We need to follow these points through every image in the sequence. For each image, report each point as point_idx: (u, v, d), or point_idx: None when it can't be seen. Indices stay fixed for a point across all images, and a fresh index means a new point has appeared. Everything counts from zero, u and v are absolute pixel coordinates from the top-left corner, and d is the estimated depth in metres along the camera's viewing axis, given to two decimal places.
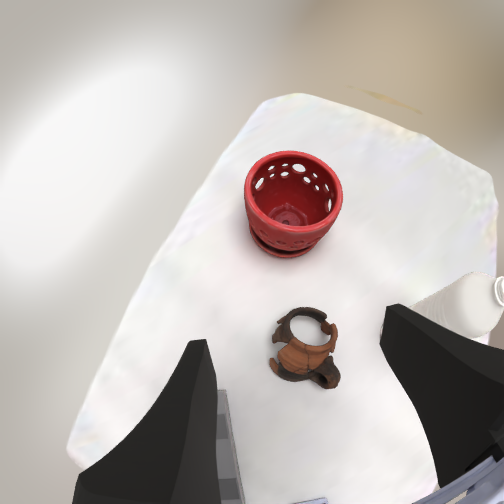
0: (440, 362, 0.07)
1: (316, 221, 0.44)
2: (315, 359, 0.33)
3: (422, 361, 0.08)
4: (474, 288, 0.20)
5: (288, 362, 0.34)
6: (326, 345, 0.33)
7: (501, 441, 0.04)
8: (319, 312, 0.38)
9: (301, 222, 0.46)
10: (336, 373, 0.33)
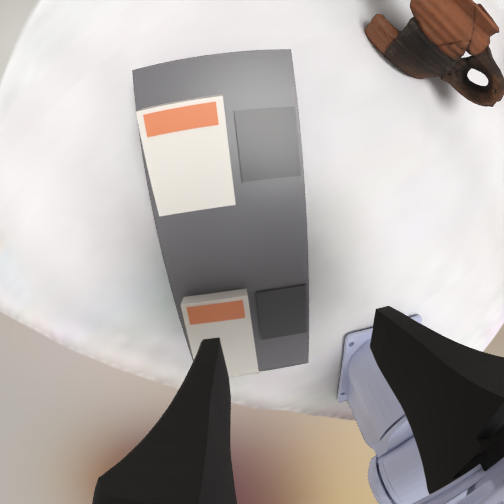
0: (428, 367, 0.07)
1: None
2: (480, 37, 0.09)
3: (411, 366, 0.08)
4: None
5: (437, 20, 0.09)
6: (495, 24, 0.08)
7: (490, 450, 0.04)
8: None
9: None
10: (503, 80, 0.10)
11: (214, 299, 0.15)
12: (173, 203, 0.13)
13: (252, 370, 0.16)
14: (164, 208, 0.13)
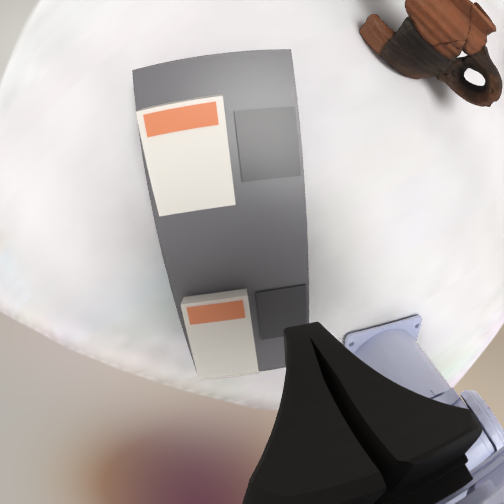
0: (339, 396, 0.07)
1: None
2: (476, 36, 0.09)
3: (329, 391, 0.08)
4: None
5: (433, 19, 0.09)
6: (492, 23, 0.08)
7: None
8: None
9: None
10: (500, 80, 0.10)
11: (214, 299, 0.15)
12: (173, 203, 0.13)
13: (252, 370, 0.16)
14: (164, 208, 0.13)
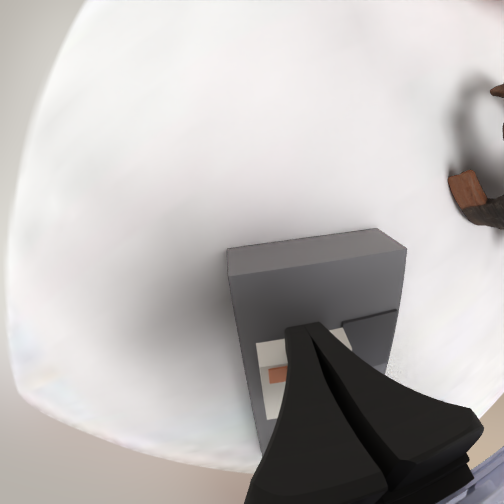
0: (341, 396, 0.07)
1: None
2: None
3: (330, 390, 0.08)
4: None
5: None
6: None
7: (397, 503, 0.04)
8: None
9: None
10: None
11: None
12: None
13: None
14: (273, 416, 0.13)
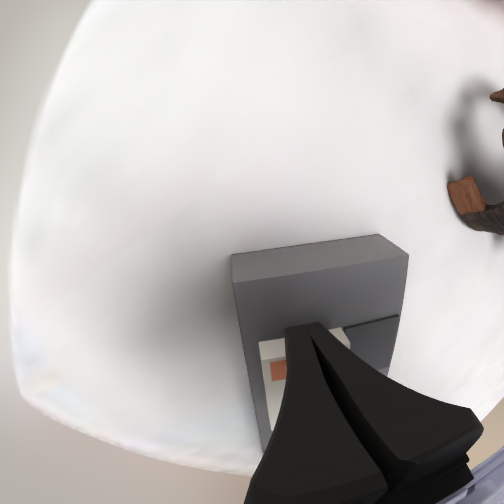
0: (340, 396, 0.07)
1: None
2: None
3: (329, 390, 0.08)
4: None
5: None
6: None
7: (397, 503, 0.04)
8: None
9: None
10: None
11: None
12: None
13: None
14: None
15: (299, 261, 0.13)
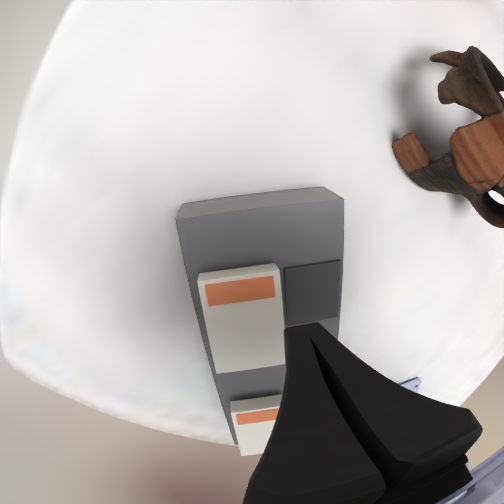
0: (339, 397, 0.07)
1: None
2: None
3: (328, 391, 0.08)
4: None
5: (475, 161, 0.11)
6: None
7: None
8: None
9: None
10: None
11: (259, 408, 0.17)
12: (230, 363, 0.14)
13: None
14: (221, 367, 0.14)
15: (238, 204, 0.14)
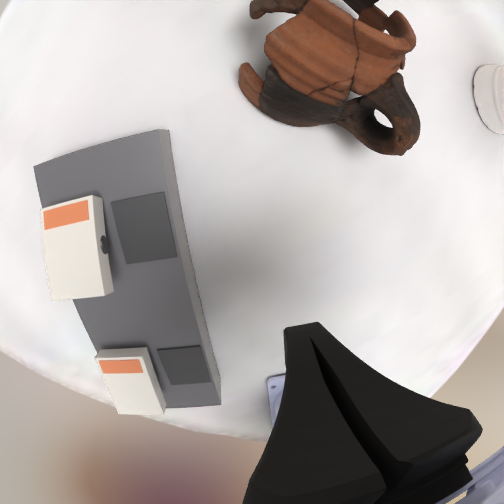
0: (339, 397, 0.07)
1: None
2: (372, 68, 0.10)
3: (329, 391, 0.08)
4: None
5: (297, 62, 0.10)
6: (402, 40, 0.09)
7: None
8: None
9: None
10: (416, 119, 0.11)
11: (118, 356, 0.16)
12: (59, 289, 0.13)
13: (158, 411, 0.17)
14: (54, 294, 0.13)
15: None
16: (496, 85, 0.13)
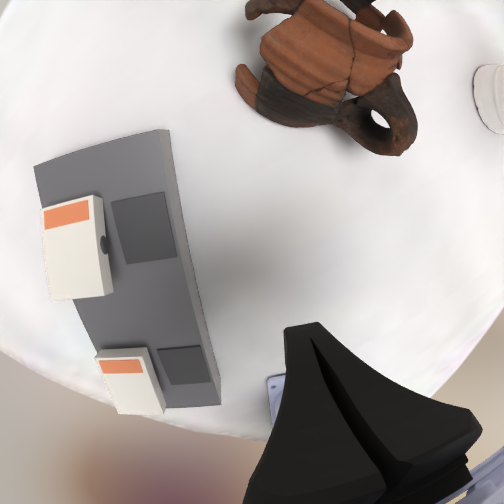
0: (339, 397, 0.07)
1: None
2: (369, 68, 0.10)
3: (329, 391, 0.08)
4: None
5: (293, 63, 0.10)
6: (399, 40, 0.09)
7: None
8: None
9: None
10: (413, 120, 0.11)
11: (118, 356, 0.16)
12: (59, 289, 0.13)
13: (158, 411, 0.17)
14: (54, 294, 0.13)
15: None
16: (496, 85, 0.13)
